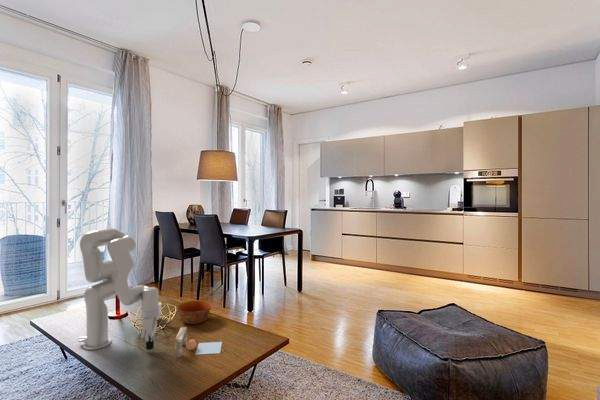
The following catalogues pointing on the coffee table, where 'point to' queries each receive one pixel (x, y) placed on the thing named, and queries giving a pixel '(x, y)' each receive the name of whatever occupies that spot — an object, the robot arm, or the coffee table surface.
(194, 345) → the ball
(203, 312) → the bowl
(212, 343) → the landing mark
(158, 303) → the white cup
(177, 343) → the bridge
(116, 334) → the coffee table surface
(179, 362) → the coffee table surface
